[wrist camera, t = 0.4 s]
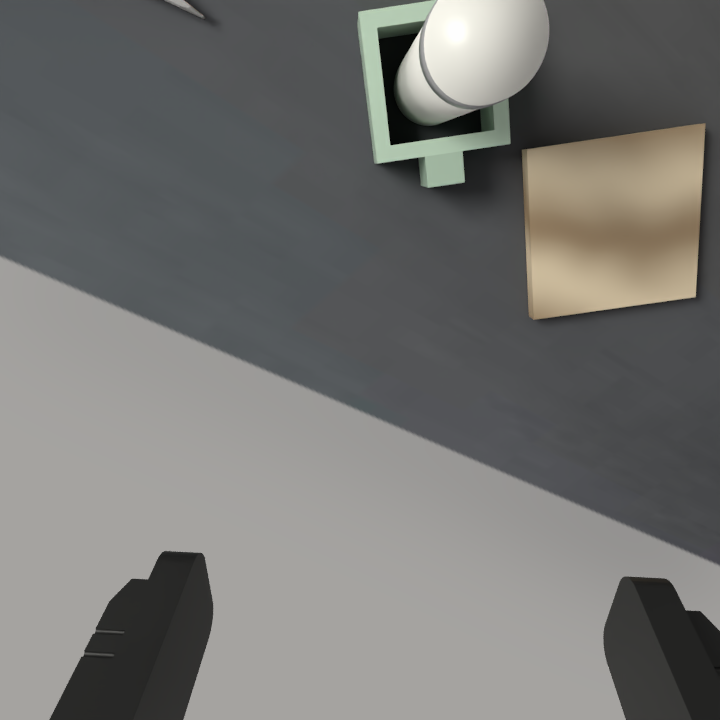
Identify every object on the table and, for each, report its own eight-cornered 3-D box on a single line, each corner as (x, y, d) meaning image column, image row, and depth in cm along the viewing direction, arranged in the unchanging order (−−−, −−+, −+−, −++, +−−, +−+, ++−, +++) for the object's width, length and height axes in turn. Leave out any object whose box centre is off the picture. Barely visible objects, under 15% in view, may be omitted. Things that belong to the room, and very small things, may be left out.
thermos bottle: (388, 51, 31) (420, -26, 18) (462, 40, 31) (548, -46, 18) (397, 132, 33) (432, 113, 20) (468, 121, 33) (552, 95, 20)
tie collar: (357, 25, 31) (358, 11, 28) (488, 5, 31) (502, -11, 28) (378, 191, 34) (381, 194, 31) (498, 174, 34) (512, 175, 31)
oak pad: (521, 149, 33) (526, 149, 32) (695, 124, 33) (705, 123, 32) (529, 315, 37) (533, 319, 36) (686, 293, 36) (695, 296, 35)
